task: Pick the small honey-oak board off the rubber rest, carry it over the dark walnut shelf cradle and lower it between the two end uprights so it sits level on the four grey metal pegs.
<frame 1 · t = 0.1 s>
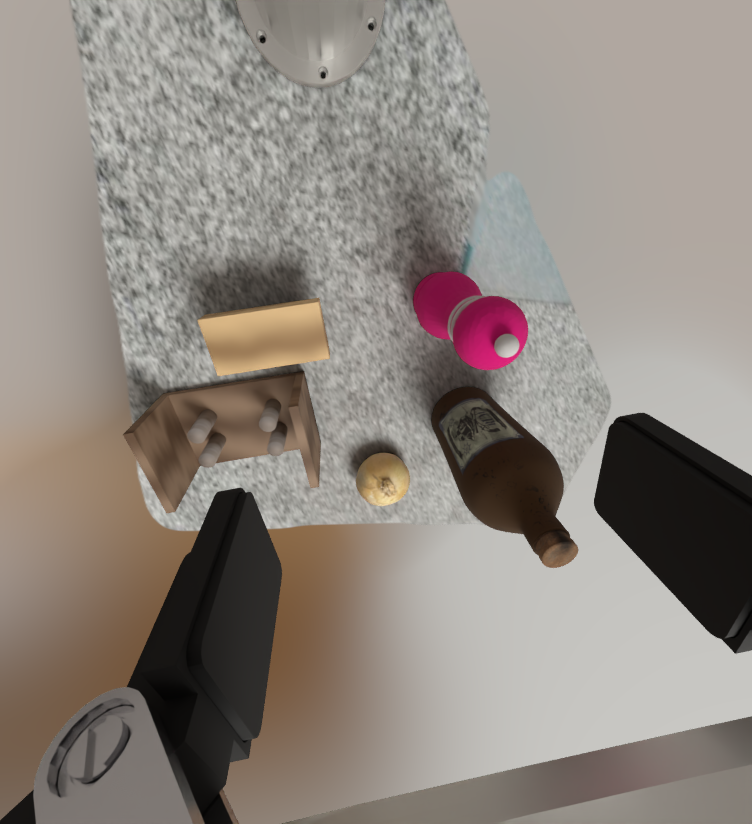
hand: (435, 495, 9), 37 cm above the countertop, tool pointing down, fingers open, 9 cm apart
shelf cradle: (247, 419, 48), on the countertop
pepper mill: (437, 298, 43), on the countertop
olive oil: (461, 414, 52), on the countertop
onion: (380, 466, 55), on the countertop
oak board: (270, 334, 38), point 4 cm above the countertop, touching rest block
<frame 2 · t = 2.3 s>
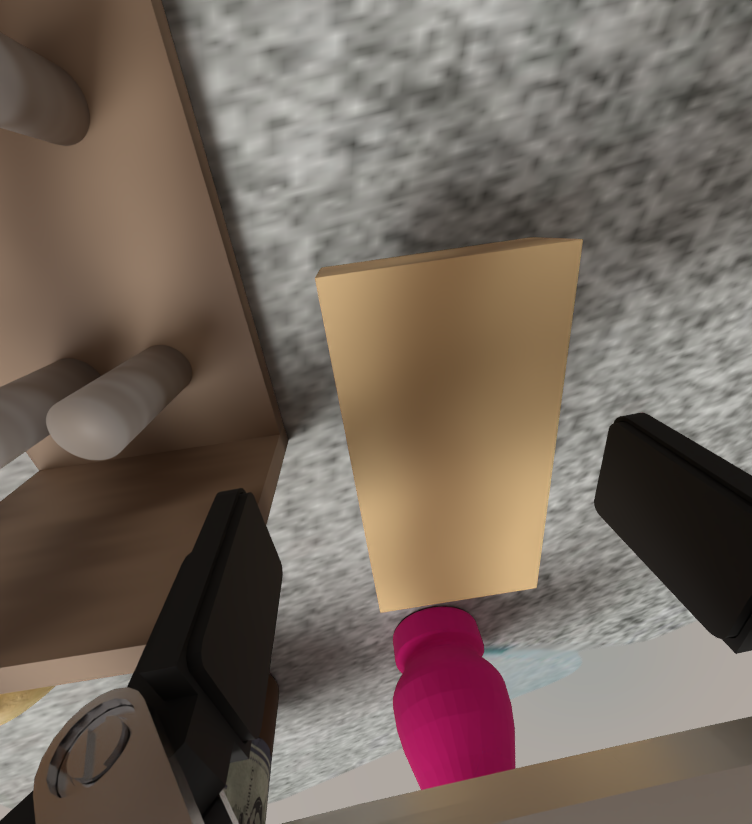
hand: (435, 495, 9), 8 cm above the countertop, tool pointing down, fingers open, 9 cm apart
shelf cradle: (85, 262, 13), on the countertop
pepper mill: (434, 629, 26), on the countertop
olive oil: (219, 687, 27), on the countertop
onion: (32, 593, 21), on the countertop
oak board: (436, 433, 13), point 4 cm above the countertop, touching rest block
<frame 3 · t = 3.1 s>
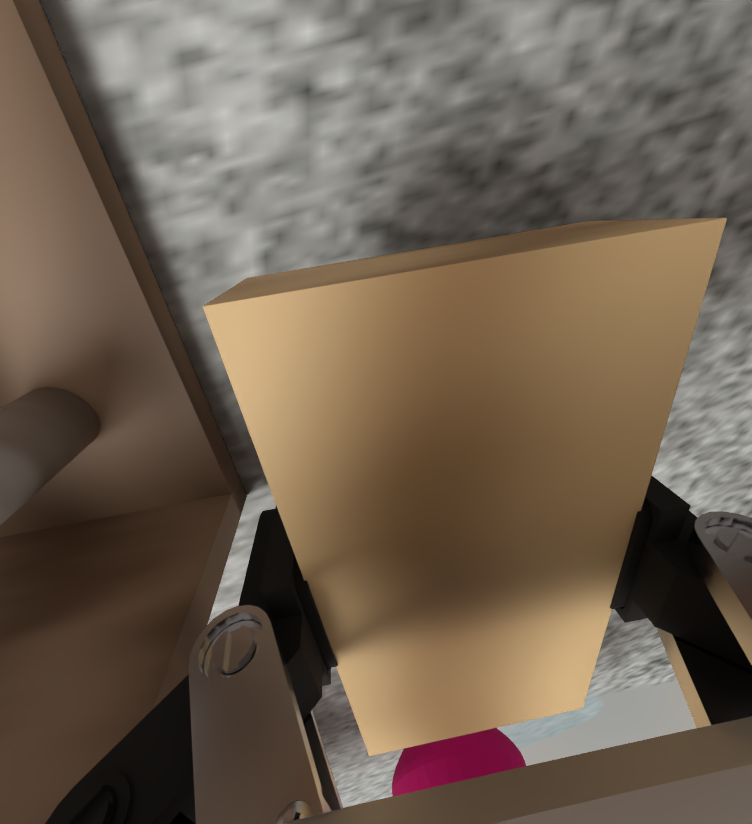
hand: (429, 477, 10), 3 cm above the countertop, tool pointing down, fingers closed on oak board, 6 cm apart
pepper mill: (437, 686, 23), on the countertop
oak board: (440, 508, 9), point 5 cm above the countertop, touching gripper, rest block
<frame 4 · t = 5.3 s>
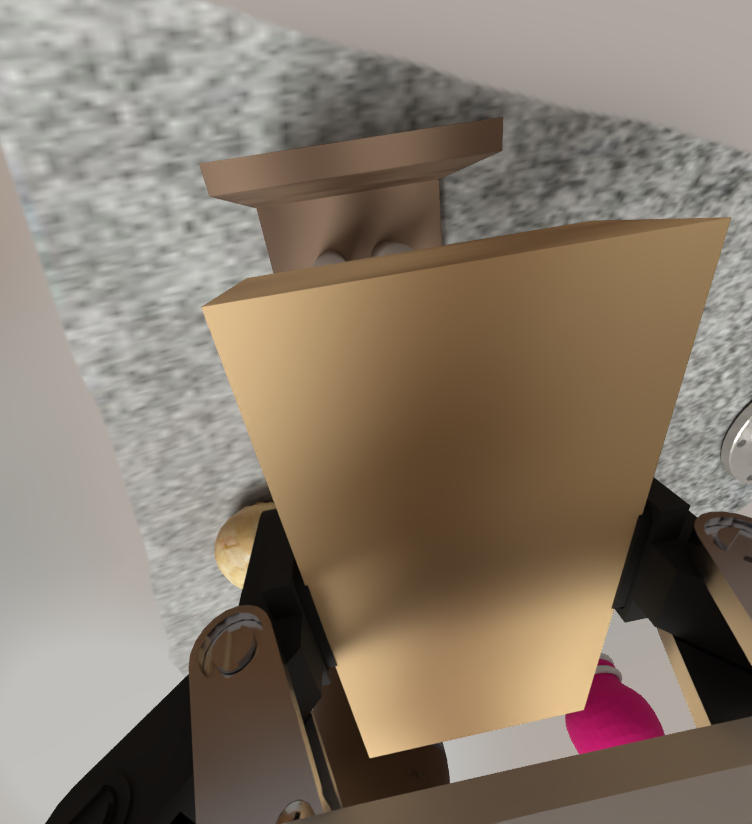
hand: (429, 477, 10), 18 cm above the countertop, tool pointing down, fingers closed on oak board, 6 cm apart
shelf cradle: (367, 322, 26), on the countertop
pepper mill: (511, 545, 39), on the countertop
olive oil: (363, 592, 40), on the countertop
onion: (270, 519, 34), on the countertop
oak board: (441, 509, 9), point 19 cm above the countertop, touching gripper
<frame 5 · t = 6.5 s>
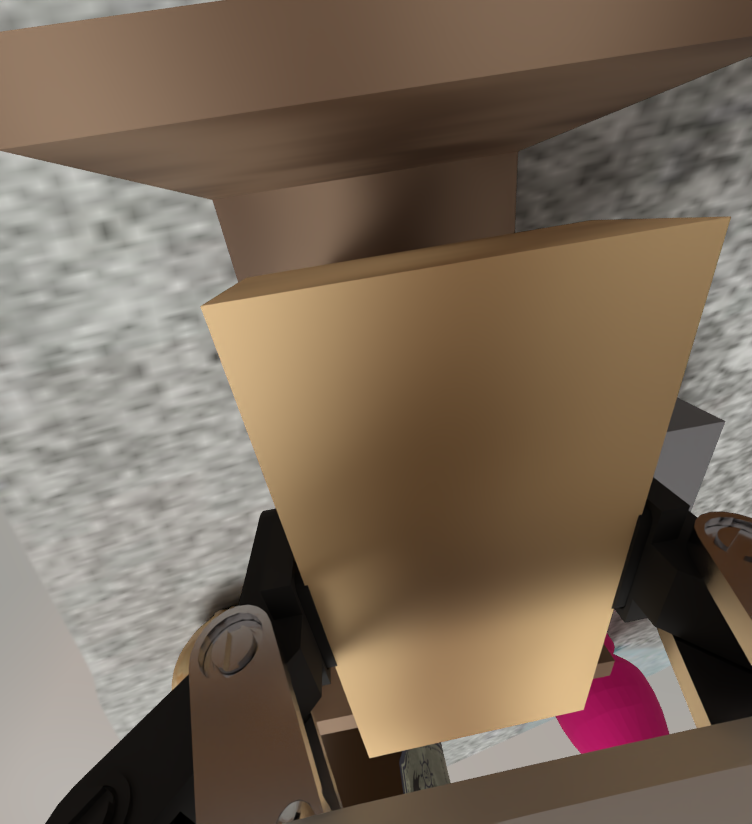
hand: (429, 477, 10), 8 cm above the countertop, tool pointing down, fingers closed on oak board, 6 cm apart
shelf cradle: (390, 372, 17), on the countertop
pepper mill: (564, 635, 31), on the countertop
olive oil: (376, 691, 31), on the countertop
onion: (253, 620, 25), on the countertop
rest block: (604, 446, 21), on the countertop
oak board: (441, 508, 9), point 9 cm above the countertop, touching gripper
when the fingers open (6 cm above the countertop, at t = 7.4 s): oak board drops 1 cm, resting on shelf cradle.
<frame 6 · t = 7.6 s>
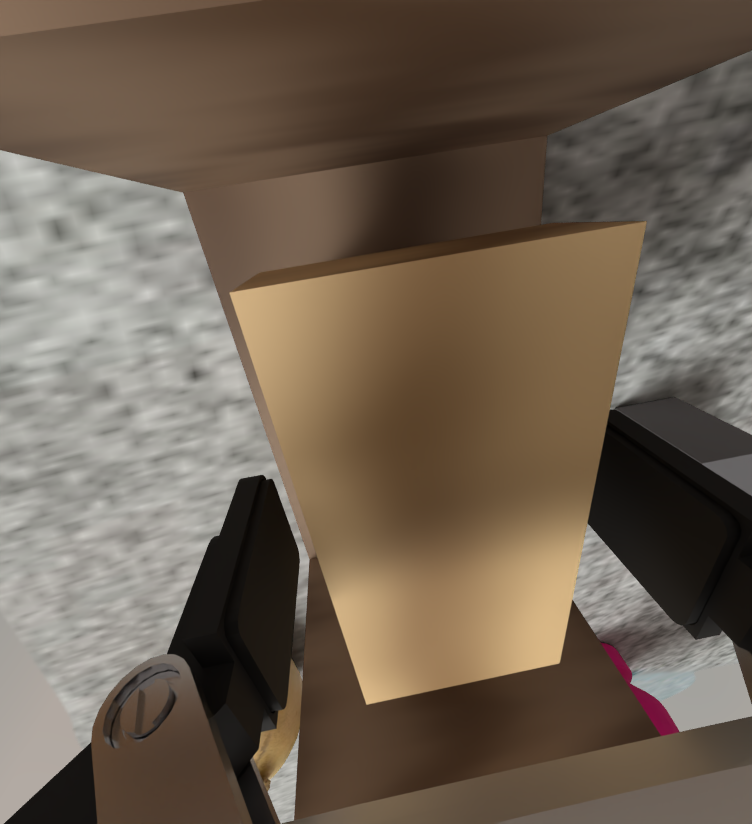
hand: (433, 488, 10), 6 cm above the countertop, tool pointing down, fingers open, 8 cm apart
shelf cradle: (394, 390, 15), on the countertop
pepper mill: (577, 661, 29), on the countertop
onion: (243, 653, 23), on the countertop
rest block: (628, 468, 19), on the countertop
oak board: (429, 479, 10), point 6 cm above the countertop, touching shelf cradle
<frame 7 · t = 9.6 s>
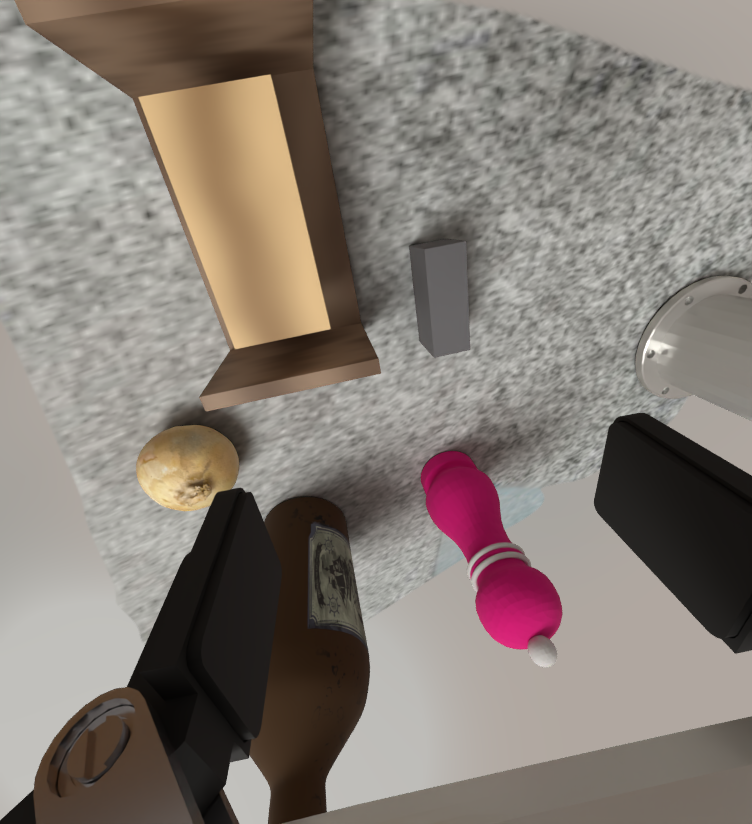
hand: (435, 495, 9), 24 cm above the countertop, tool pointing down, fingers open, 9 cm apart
shelf cradle: (267, 229, 26), on the countertop
pepper mill: (446, 472, 40), on the countertop
olive oil: (306, 525, 41), on the countertop
onion: (199, 447, 34), on the countertop
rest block: (431, 293, 30), on the countertop
oak board: (256, 231, 21), point 6 cm above the countertop, touching shelf cradle
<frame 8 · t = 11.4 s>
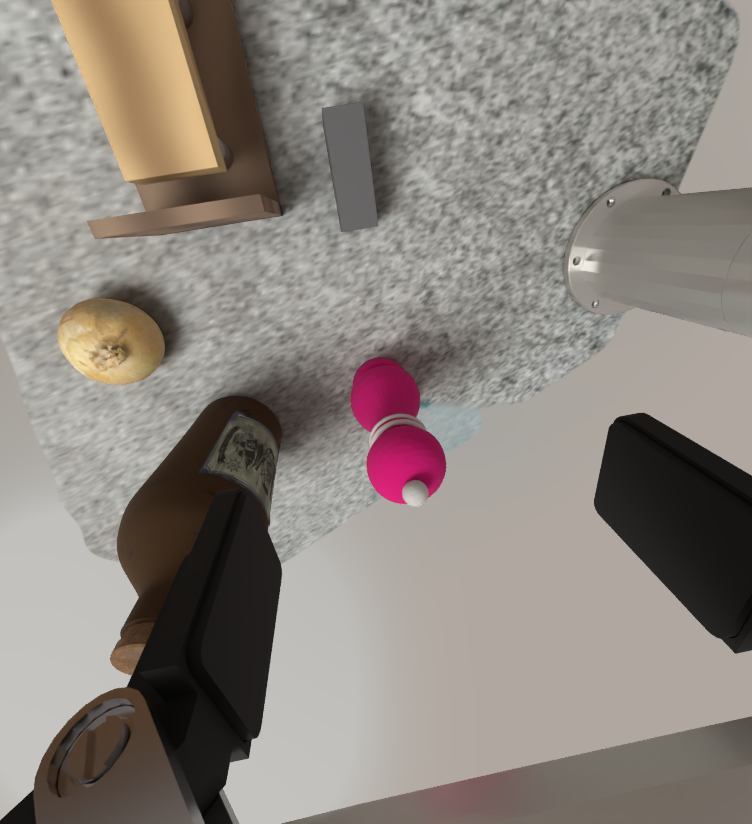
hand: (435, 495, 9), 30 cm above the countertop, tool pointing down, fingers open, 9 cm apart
shelf cradle: (181, 95, 27), on the countertop
pepper mill: (379, 382, 41), on the countertop
olive oil: (242, 430, 42), on the countertop
onion: (130, 333, 35), on the countertop
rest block: (349, 178, 31), on the countertop
oak board: (146, 65, 22), point 6 cm above the countertop, touching shelf cradle
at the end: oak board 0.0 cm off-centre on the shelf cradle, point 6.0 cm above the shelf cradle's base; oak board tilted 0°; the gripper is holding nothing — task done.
